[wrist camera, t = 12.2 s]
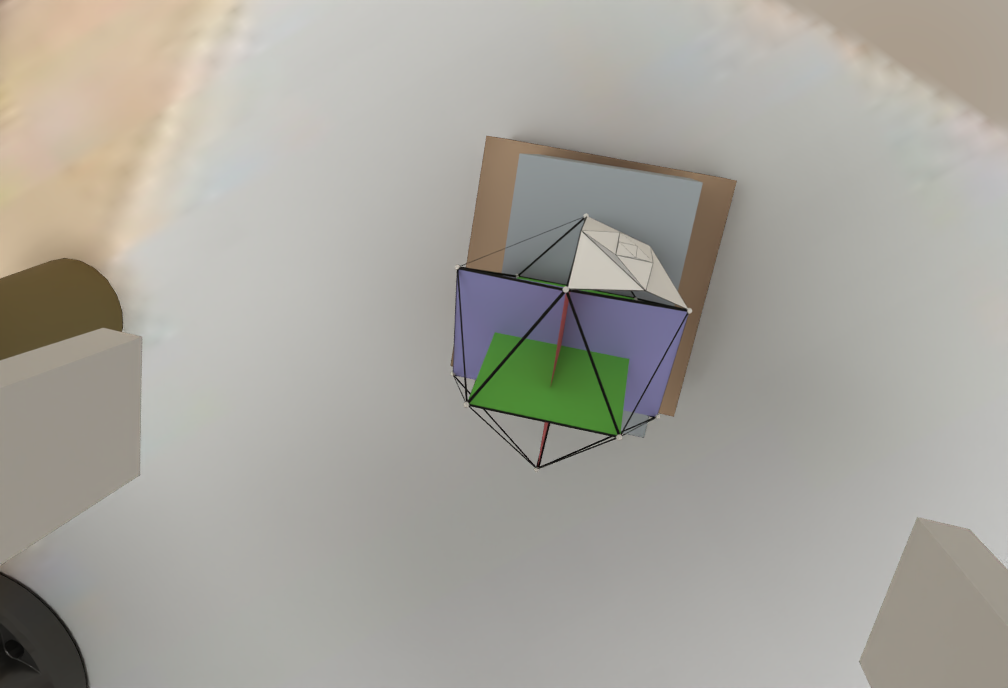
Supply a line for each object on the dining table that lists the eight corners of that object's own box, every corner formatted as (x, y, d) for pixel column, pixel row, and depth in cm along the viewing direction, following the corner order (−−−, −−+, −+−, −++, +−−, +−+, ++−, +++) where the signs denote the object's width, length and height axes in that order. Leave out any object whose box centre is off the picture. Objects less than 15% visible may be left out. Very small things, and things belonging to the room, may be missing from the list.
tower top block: (505, 364, 30) (481, 403, 25) (539, 154, 27) (519, 153, 22) (641, 391, 29) (644, 437, 24) (689, 178, 26) (702, 182, 21)
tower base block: (475, 337, 35) (450, 365, 30) (507, 139, 32) (486, 135, 27) (667, 380, 33) (673, 416, 29) (720, 177, 31) (736, 180, 26)
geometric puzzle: (637, 506, 22) (686, 460, 15) (440, 461, 23) (393, 396, 16) (668, 312, 25) (723, 190, 17) (488, 279, 26) (467, 148, 18)
